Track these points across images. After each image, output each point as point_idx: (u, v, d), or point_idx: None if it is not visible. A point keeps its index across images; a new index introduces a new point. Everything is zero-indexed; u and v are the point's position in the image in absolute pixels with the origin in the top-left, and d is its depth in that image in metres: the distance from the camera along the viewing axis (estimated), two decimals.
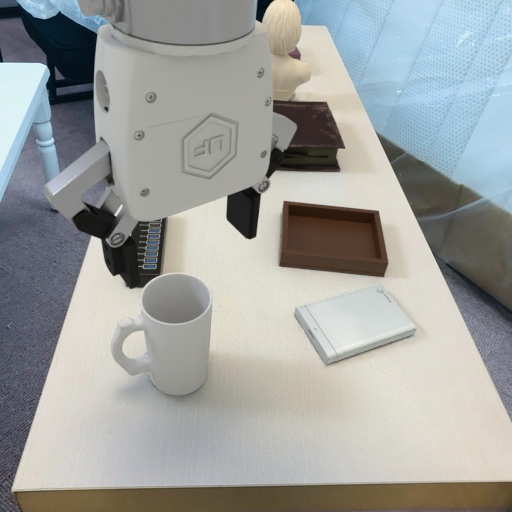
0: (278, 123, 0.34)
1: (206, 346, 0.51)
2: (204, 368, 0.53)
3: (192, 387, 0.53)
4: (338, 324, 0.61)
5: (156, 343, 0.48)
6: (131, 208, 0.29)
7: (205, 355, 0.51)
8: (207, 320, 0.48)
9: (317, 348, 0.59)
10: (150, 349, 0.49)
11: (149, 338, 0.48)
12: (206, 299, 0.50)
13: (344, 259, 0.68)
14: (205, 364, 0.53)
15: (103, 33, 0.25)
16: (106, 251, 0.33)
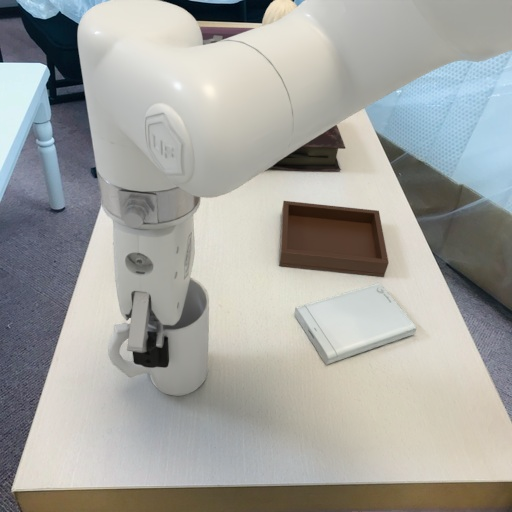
0: None
1: (204, 348, 0.50)
2: (203, 368, 0.53)
3: (192, 387, 0.53)
4: (338, 324, 0.61)
5: None
6: (172, 320, 0.41)
7: (204, 356, 0.51)
8: (204, 324, 0.47)
9: (317, 348, 0.59)
10: None
11: None
12: (203, 301, 0.49)
13: (344, 259, 0.68)
14: (204, 365, 0.52)
15: (127, 230, 0.36)
16: (146, 355, 0.45)
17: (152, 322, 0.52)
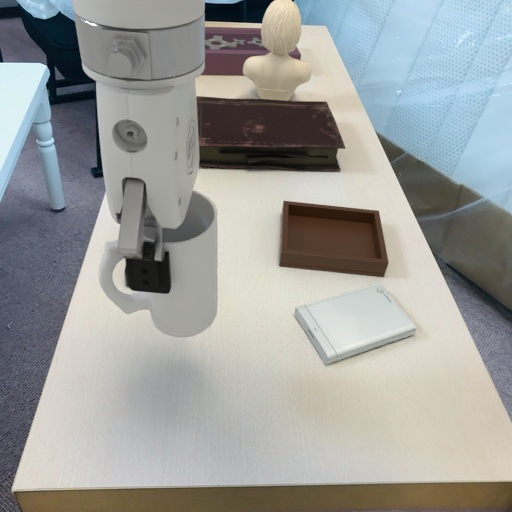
0: None
1: (213, 276, 0.43)
2: (212, 304, 0.45)
3: (199, 327, 0.45)
4: (338, 324, 0.61)
5: None
6: (174, 220, 0.34)
7: (212, 287, 0.43)
8: (212, 241, 0.40)
9: (317, 348, 0.59)
10: None
11: None
12: (211, 218, 0.42)
13: (344, 259, 0.68)
14: (213, 299, 0.45)
15: (113, 89, 0.29)
16: (143, 274, 0.38)
17: None
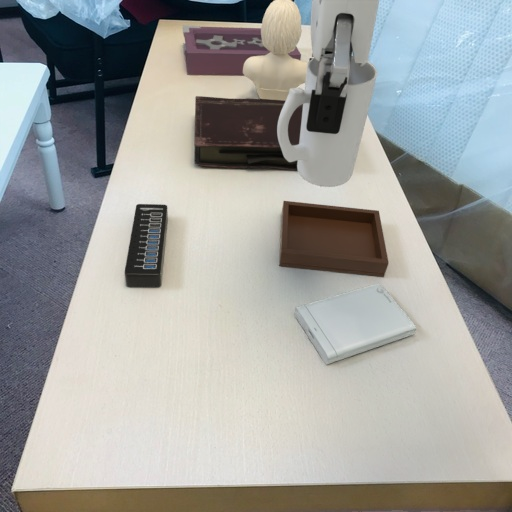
0: None
1: (363, 127, 0.52)
2: (355, 157, 0.55)
3: (344, 177, 0.55)
4: (338, 324, 0.61)
5: None
6: (366, 54, 0.43)
7: (360, 139, 0.53)
8: (372, 90, 0.49)
9: (317, 348, 0.59)
10: None
11: None
12: (365, 78, 0.51)
13: (344, 259, 0.68)
14: (357, 152, 0.54)
15: None
16: (325, 111, 0.47)
17: None
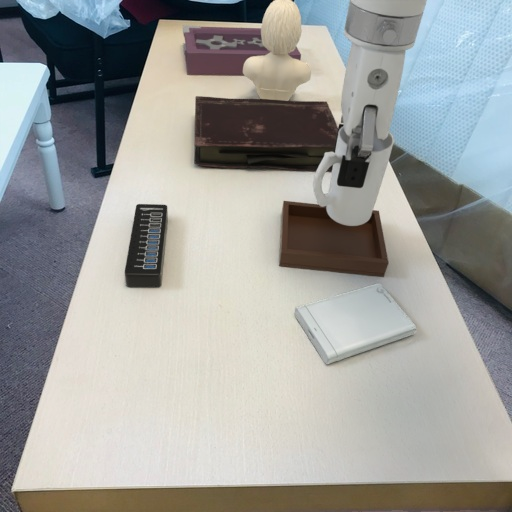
0: None
1: None
2: (375, 202, 0.67)
3: (365, 218, 0.68)
4: (338, 324, 0.61)
5: None
6: (386, 133, 0.56)
7: (379, 189, 0.66)
8: None
9: (317, 348, 0.59)
10: None
11: None
12: (383, 141, 0.64)
13: (344, 259, 0.68)
14: (376, 199, 0.67)
15: (374, 50, 0.51)
16: (353, 172, 0.60)
17: None
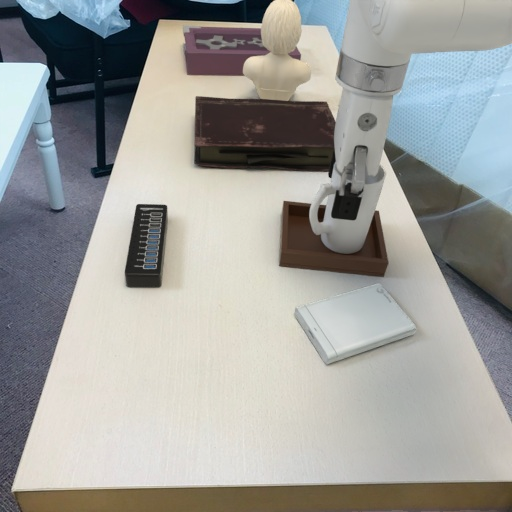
0: None
1: (374, 211, 0.68)
2: (367, 232, 0.71)
3: (357, 247, 0.71)
4: (338, 324, 0.61)
5: None
6: (376, 170, 0.59)
7: (371, 219, 0.69)
8: (382, 186, 0.66)
9: (317, 348, 0.59)
10: None
11: None
12: (376, 175, 0.68)
13: (344, 259, 0.68)
14: (368, 228, 0.70)
15: (364, 96, 0.54)
16: (346, 206, 0.62)
17: None
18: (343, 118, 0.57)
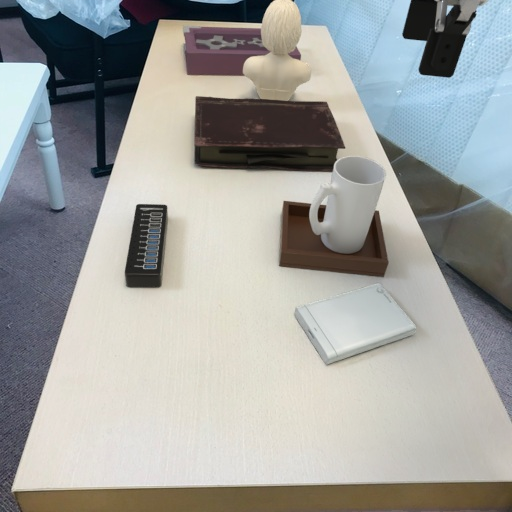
0: None
1: (374, 211, 0.68)
2: (367, 232, 0.71)
3: (357, 247, 0.71)
4: (338, 324, 0.61)
5: (345, 203, 0.65)
6: None
7: (371, 219, 0.69)
8: (382, 186, 0.66)
9: (317, 348, 0.59)
10: (336, 211, 0.67)
11: (339, 200, 0.66)
12: (376, 175, 0.68)
13: (344, 259, 0.68)
14: (368, 228, 0.70)
15: None
16: (444, 50, 0.45)
17: None
18: None
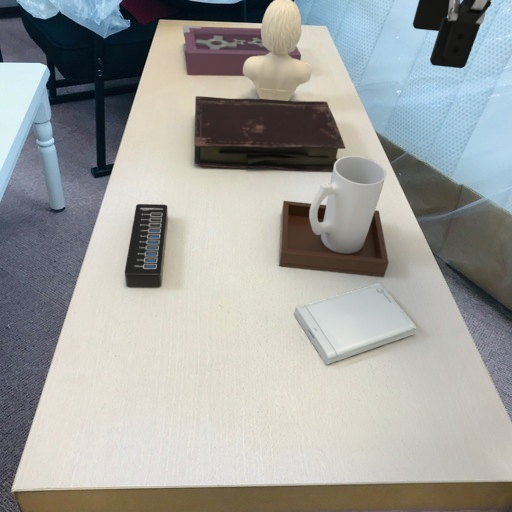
0: None
1: (374, 211, 0.68)
2: (367, 232, 0.71)
3: (357, 247, 0.71)
4: (338, 324, 0.61)
5: (345, 203, 0.65)
6: None
7: (371, 219, 0.69)
8: (382, 186, 0.66)
9: (317, 348, 0.59)
10: (336, 211, 0.67)
11: (339, 200, 0.66)
12: (376, 175, 0.68)
13: (344, 259, 0.68)
14: (368, 228, 0.70)
15: None
16: (457, 40, 0.44)
17: None
18: None
